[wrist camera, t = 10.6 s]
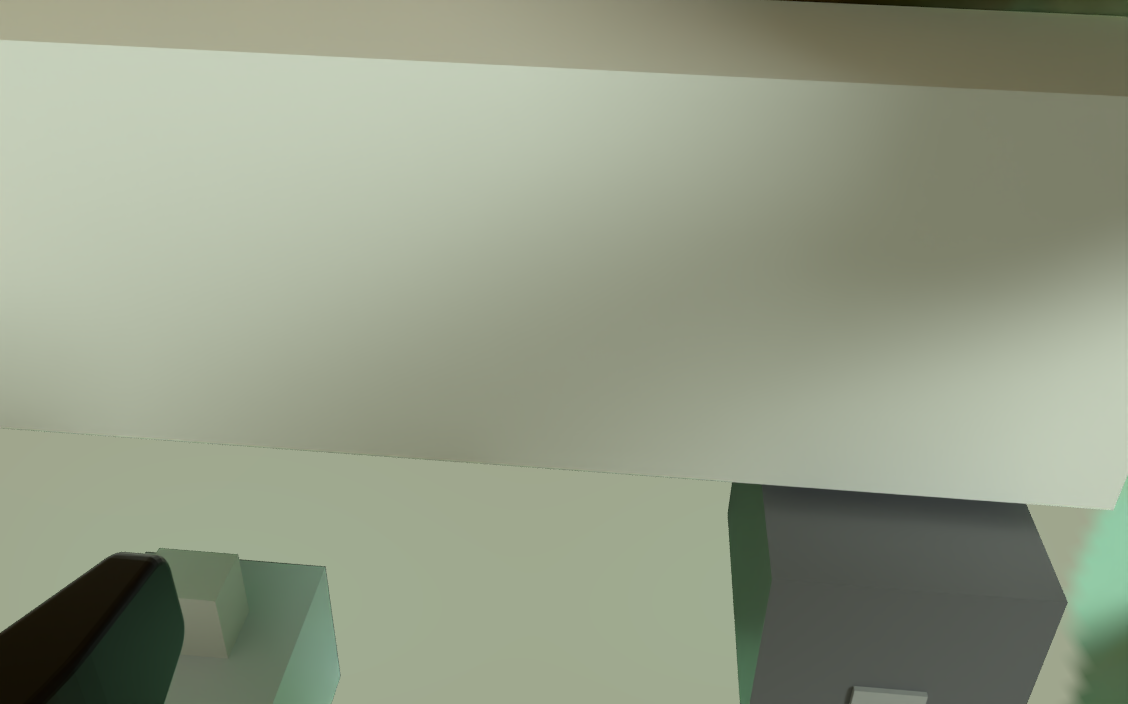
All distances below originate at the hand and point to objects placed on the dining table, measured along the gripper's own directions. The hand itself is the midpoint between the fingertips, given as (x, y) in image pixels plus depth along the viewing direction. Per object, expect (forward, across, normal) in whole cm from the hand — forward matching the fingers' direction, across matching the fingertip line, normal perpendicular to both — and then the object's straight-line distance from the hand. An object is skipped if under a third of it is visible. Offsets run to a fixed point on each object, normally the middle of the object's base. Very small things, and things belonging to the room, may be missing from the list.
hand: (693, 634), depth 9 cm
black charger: (+12, -4, +7) cm, 14 cm away
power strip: (+12, +4, +1) cm, 12 cm away
